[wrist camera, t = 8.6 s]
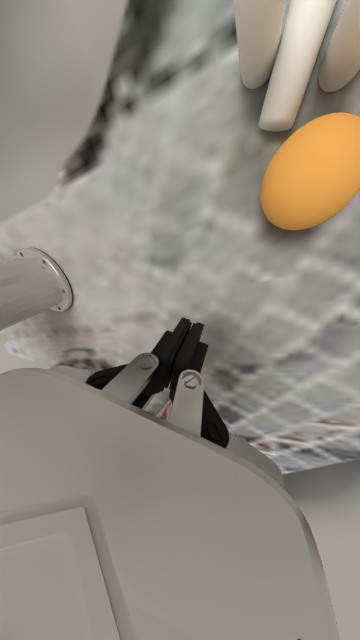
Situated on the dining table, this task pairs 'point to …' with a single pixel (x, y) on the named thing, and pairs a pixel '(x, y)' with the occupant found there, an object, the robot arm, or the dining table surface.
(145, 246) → the dining table surface
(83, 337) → the dining table surface
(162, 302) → the dining table surface
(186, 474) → the robot arm
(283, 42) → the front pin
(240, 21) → the pin
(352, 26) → the pin
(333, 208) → the ball
